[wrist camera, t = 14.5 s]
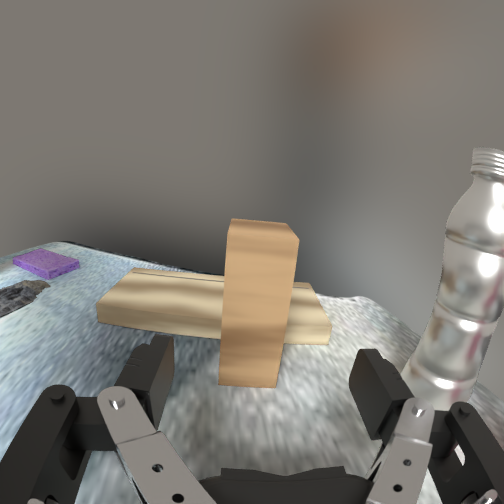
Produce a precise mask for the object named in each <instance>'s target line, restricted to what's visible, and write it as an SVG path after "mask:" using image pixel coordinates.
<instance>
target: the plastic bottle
mask: <svg viewBox="0 0 504 504" xmlns="http://www.w3.org/2000/svg"><path fill="white" fill-rule="evenodd" d="M470 174H471V175H472V176H474V181H473V185H472V186H471V187H470V188H469V189H468V190H467V192H466V193H465V194H464V195H463V196H462V197H461V198H460V200H459V201H458V202H457V204H456V205H455V206H454V207H453V209H452V211H451V213H450V215H449V218H448V220H447V224H446V232H445V234H446V238H445V245H444V256H443V265H442V273H441V279H440V283H439V287H438V292H437V299H436V300H435V303H434V307H433V311H432V314H431V317H430V319H429V321H428V324H427V326H426V328H425V330H424V333H423V335H422V337H421V339H420V341H419V343H418V346H417V348H416V349H415V350H414V351H413V353H412V355H411V356H410V357H409V359H408V361H407V363H406V365H405V366H404V368H403V370H402V372H401V374H400V375H401V377H402V380H404V381H405V383H406V384H407V386H408V387H409V389H410V390H411V392H412V394H413V395H414V397H415V398H422V399H425V400H426V401H428V402H429V403H431V404H432V406H433V407H434V410H443V411H449V409H450V407H451V406H452V404H453V403H455V402H458V401H462V402H466V403H467V402H468V400H469V399H470V396H471V394H472V391H473V389H474V387H475V384H476V381H477V378H478V374H479V370H480V367H481V365H482V362H483V360H484V357H485V354H486V352H487V349H488V346H489V343H490V340H491V337H492V334H493V332H494V330H495V328H496V325H497V323H498V318H499V317H500V316H501V313H502V311H503V308H504V151H501V150H497V149H493V148H486V147H476V148H474V150H473V162H472V167H471V171H470Z"/></svg>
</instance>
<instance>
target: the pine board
mask: <svg viewBox="0 0 504 504" xmlns="http://www.w3.org/2000/svg"><path fill="white" fill-rule="evenodd" d="M224 278H225V276H215V275H204V274H193V273H183V272H173V271H163V270H154V269H144V268H135V267H134V268H133V269H132V270H131V271H130V272H129V273H127V274H126V275H125V276H124V277H123V278H122V279H121V280H120V281H119V282H118V283H117V284H116V285H115V286H114V287H113V288H111V289H110V290H109V291H108V292H107V293H106V294H105V295H104V296H103V297H102V298H101V299H100V300H99V301H98V302H97V303H96V308H97V315H98V322H101V323H106V324H112V325H118V326H123V327H130V328H136V329H142V330H149V331H156V332H163V333H170V334H178V335H186V336H195V337H204V338H214V339H221V325H222V308H223V293H224ZM331 330H332V325H331V323H330V321H329V319H328V317H327V315H326V313H325V311H324V309H323V307H322V306H321V304H320V302H319V300H318V298H317V296H316V294H315V292H314V291H313V289H312V287H311V285H310V284H309V283H300V282H293V288H292V294H291V301H290V307H289V313H288V320H287V326H286V332H285V338H284V344H312V345H328V343H329V338H330V334H331Z"/></svg>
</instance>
